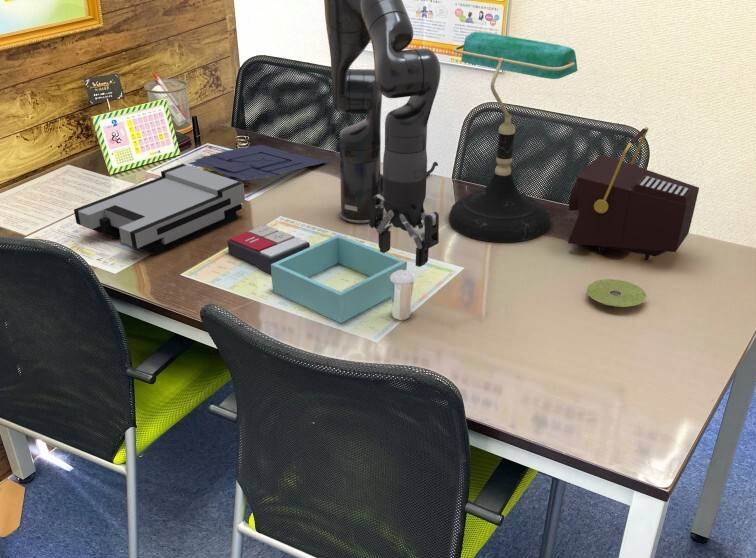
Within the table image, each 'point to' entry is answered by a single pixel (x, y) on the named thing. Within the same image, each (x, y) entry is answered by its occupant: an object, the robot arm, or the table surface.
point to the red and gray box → (265, 246)
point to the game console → (165, 209)
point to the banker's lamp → (507, 141)
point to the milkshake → (401, 293)
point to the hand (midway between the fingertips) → (402, 258)
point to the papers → (255, 162)
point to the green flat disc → (616, 293)
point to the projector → (630, 207)
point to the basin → (324, 299)
